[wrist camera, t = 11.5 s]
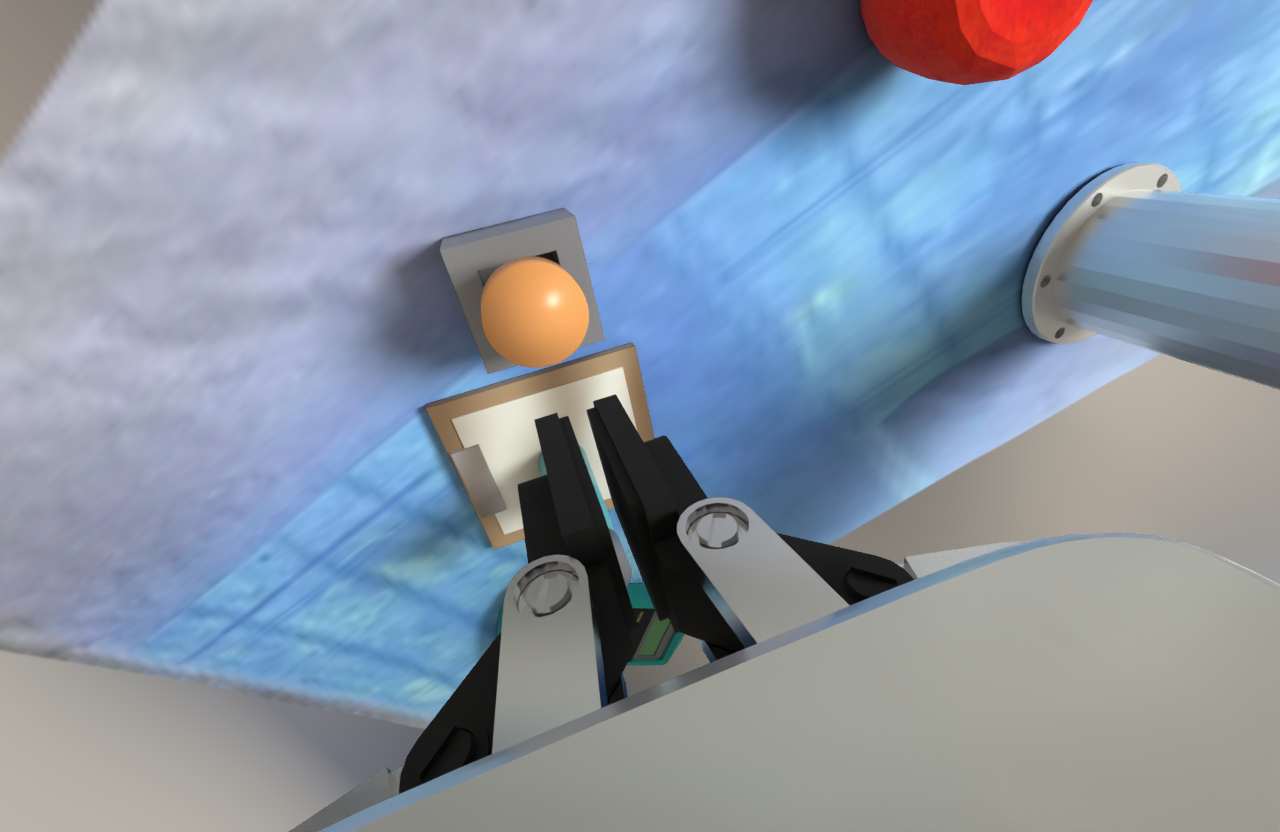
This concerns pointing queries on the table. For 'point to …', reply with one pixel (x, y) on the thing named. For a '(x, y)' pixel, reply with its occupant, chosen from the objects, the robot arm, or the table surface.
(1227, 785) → the robot arm
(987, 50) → the apple
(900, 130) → the table surface
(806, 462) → the table surface
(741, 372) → the table surface
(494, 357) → the button housing
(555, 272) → the button
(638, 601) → the digital multimeter
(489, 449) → the clipboard
